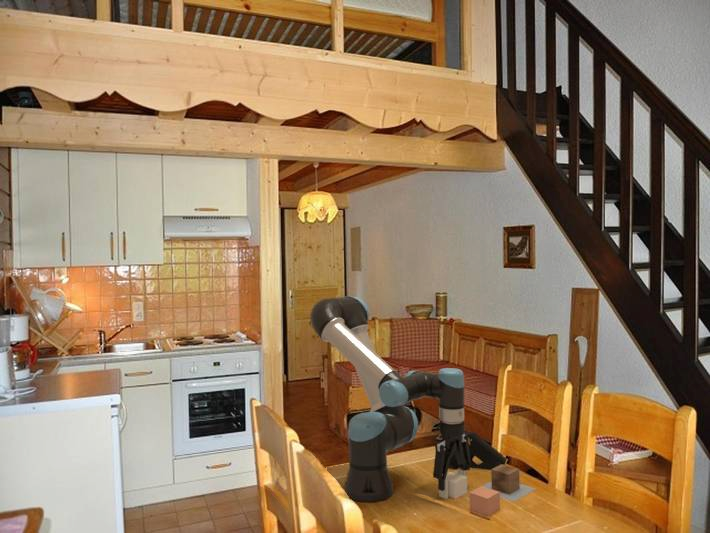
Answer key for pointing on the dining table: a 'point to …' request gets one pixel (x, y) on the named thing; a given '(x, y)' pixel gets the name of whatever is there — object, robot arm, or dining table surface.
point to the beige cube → (456, 485)
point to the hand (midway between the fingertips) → (452, 495)
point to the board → (514, 495)
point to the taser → (480, 454)
